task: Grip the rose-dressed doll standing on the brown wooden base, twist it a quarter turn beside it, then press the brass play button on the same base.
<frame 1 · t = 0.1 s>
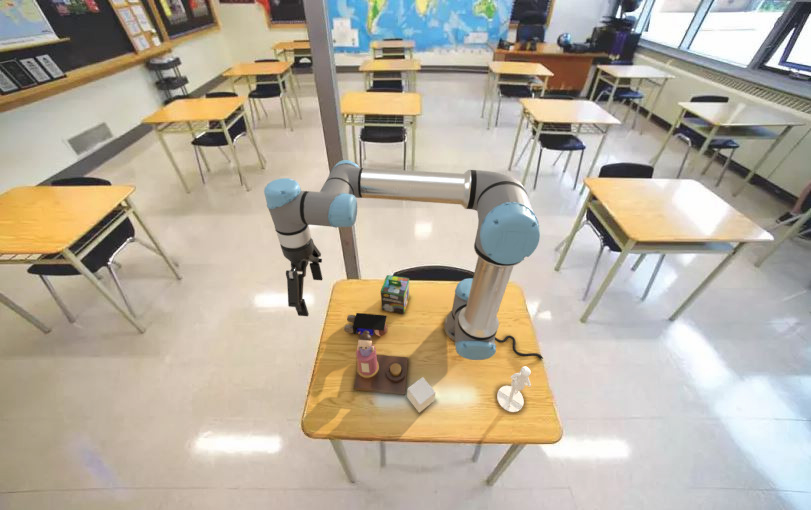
hand: (311, 296, 92), 28 cm above the table, tool pointing down, fingers open, 13 cm apart
brown wooden base: (382, 374, 104), on the table
figurine: (509, 399, 99), on the table
chalk box: (395, 304, 127), on the table
doll: (366, 353, 96), point 12 cm above the table, hinge at 0.0°
figurine character: (366, 331, 117), on the table
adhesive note: (420, 399, 99), on the table
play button: (395, 369, 101), point 4 cm above the table, slide at 0.1 cm
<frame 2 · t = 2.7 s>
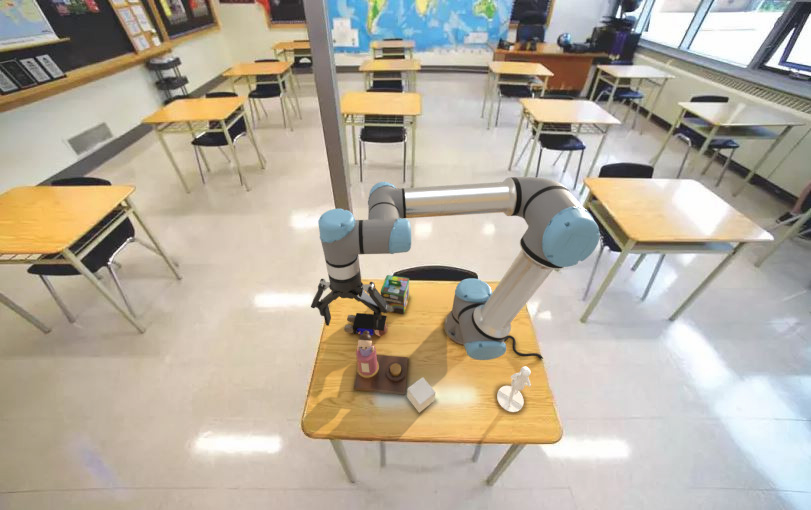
hand: (352, 323, 89), 25 cm above the table, tool pointing down, fingers open, 13 cm apart
nothing on the table moved.
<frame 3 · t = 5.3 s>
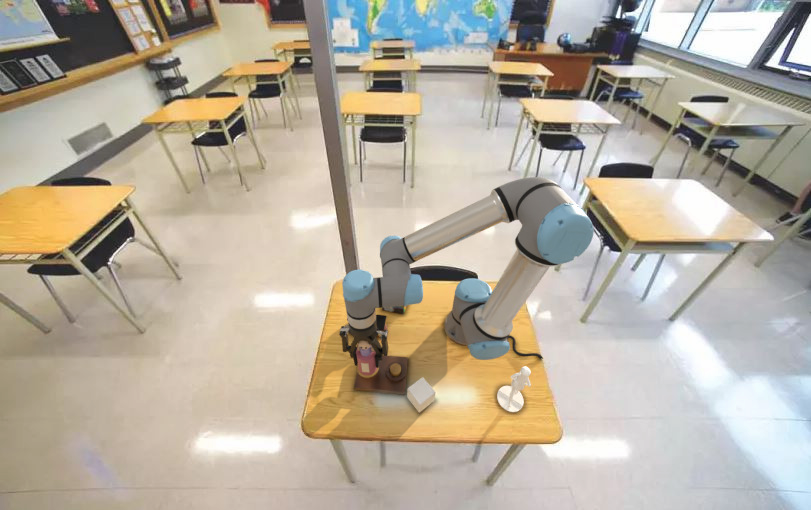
hand: (367, 362, 100), 7 cm above the table, tool pointing down, fingers closed on doll, 6 cm apart
doll: (366, 353, 96), point 12 cm above the table, hinge at 0.0°, touching gripper
everything else where it was.
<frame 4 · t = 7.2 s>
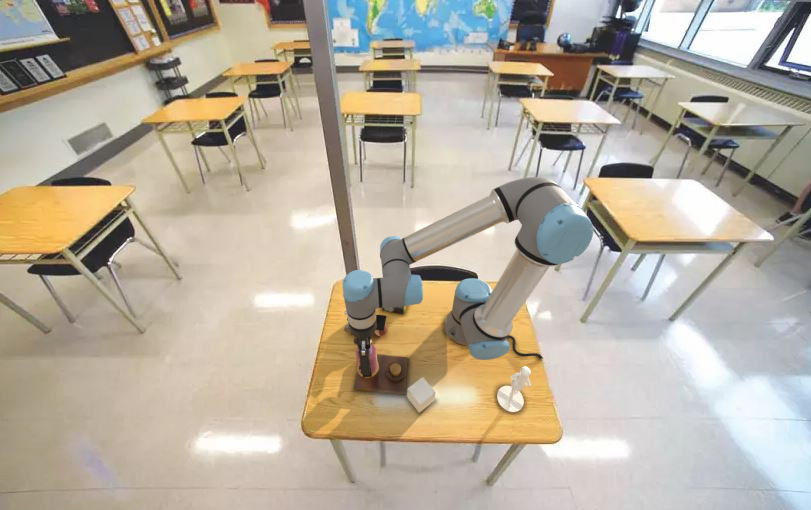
hand: (367, 362, 100), 7 cm above the table, tool pointing down, fingers open, 8 cm apart
doll: (366, 353, 96), point 12 cm above the table, hinge at 100.4°
everything else where it was.
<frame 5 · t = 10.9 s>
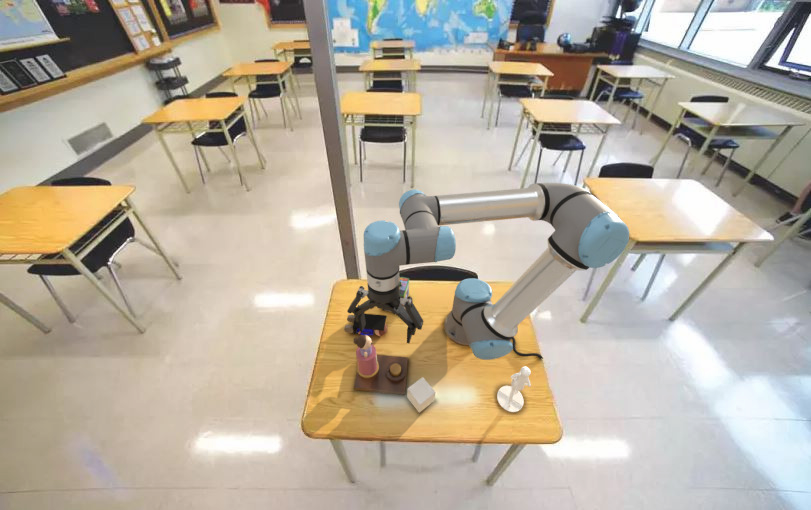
hand: (385, 333, 88), 24 cm above the table, tool pointing down, fingers open, 13 cm apart
nothing on the table moved.
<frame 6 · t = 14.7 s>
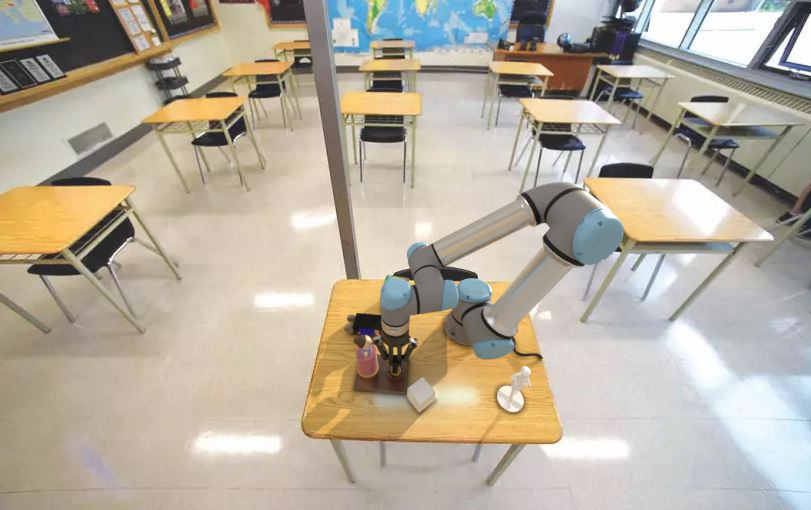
hand: (395, 369, 101), 4 cm above the table, tool pointing down, fingers closed
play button: (395, 371, 102), point 3 cm above the table, slide at -0.6 cm, touching gripper
everything else where it was.
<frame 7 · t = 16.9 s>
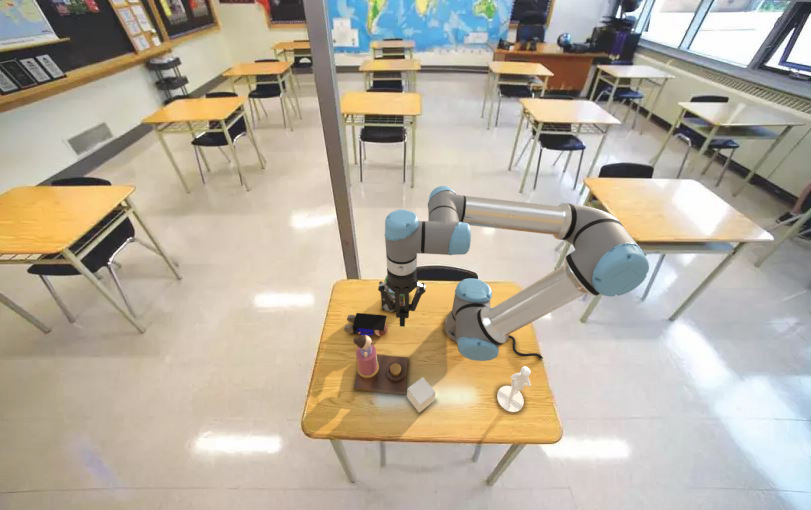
hand: (402, 322, 96), 20 cm above the table, tool pointing down, fingers closed
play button: (395, 369, 101), point 4 cm above the table, slide at 0.1 cm
everything else where it was.
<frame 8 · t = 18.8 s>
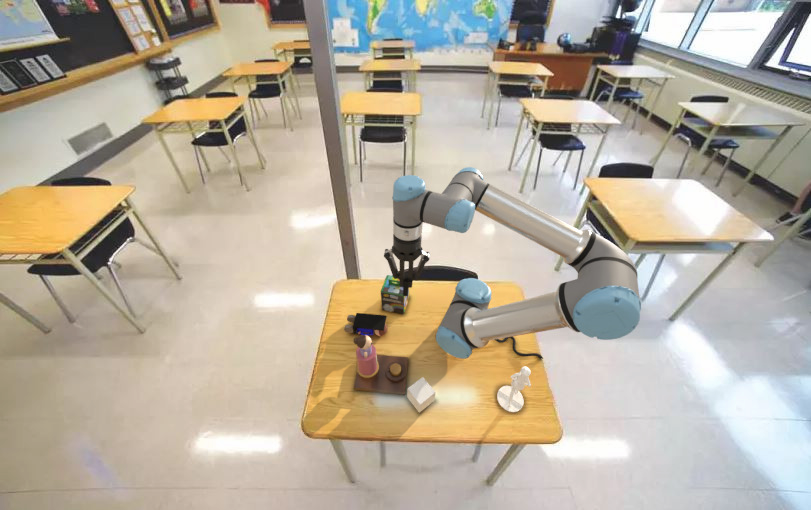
hand: (405, 292, 99), 24 cm above the table, tool pointing down, fingers closed
nothing on the table moved.
at the end: doll at +100° (first picture: +0°); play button pushed in 0.8 cm at the most during the clip, back to where it started at the end; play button slide at 0.1 cm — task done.
